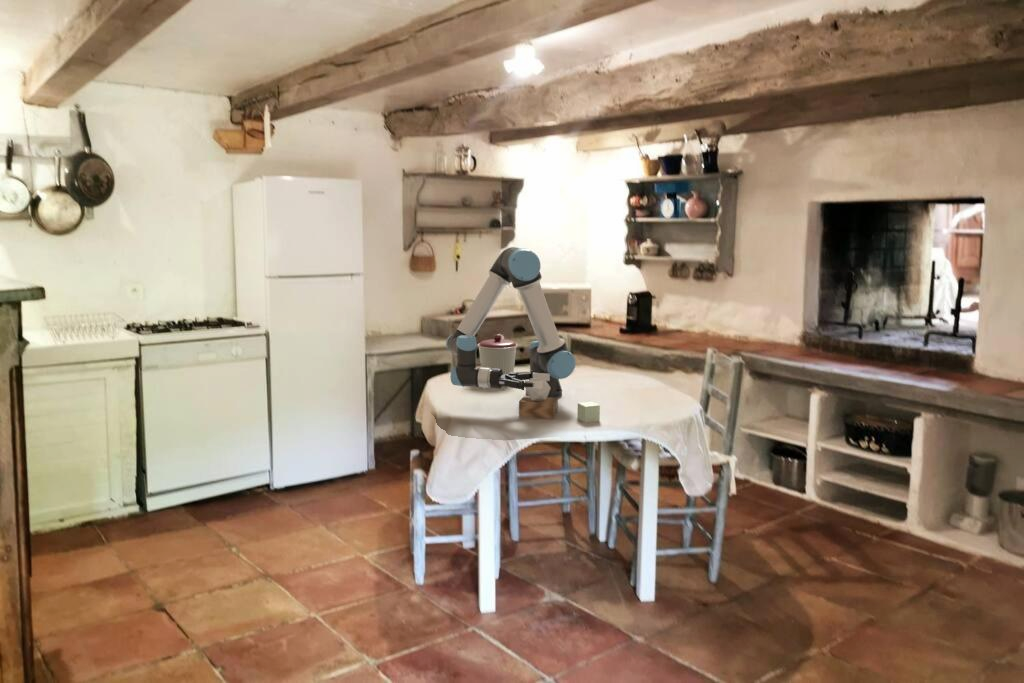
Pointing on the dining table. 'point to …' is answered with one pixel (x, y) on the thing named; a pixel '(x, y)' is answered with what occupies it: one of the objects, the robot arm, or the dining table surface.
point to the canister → (498, 354)
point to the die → (539, 391)
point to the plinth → (538, 408)
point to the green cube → (588, 411)
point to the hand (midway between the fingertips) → (546, 381)
